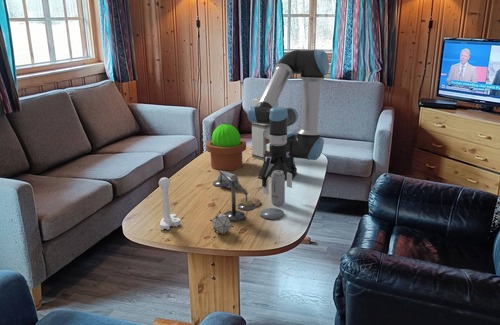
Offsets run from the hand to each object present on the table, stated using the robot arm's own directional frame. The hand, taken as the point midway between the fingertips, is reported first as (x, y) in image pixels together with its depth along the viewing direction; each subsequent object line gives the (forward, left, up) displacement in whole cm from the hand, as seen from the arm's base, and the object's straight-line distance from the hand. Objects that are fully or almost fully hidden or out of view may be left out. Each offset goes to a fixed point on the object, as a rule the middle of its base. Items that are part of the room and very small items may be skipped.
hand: (277, 190), depth 200 cm
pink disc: (+10, -8, -6) cm, 14 cm away
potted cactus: (-14, -61, -7) cm, 63 cm away
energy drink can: (0, 0, -7) cm, 7 cm away
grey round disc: (+10, +8, -6) cm, 14 cm away
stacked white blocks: (-42, -61, -7) cm, 75 cm away
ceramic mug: (+4, -32, -7) cm, 33 cm away
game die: (+36, +9, -7) cm, 38 cm away
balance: (+24, 0, -6) cm, 25 cm away
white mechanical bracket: (+48, -10, -7) cm, 49 cm away
